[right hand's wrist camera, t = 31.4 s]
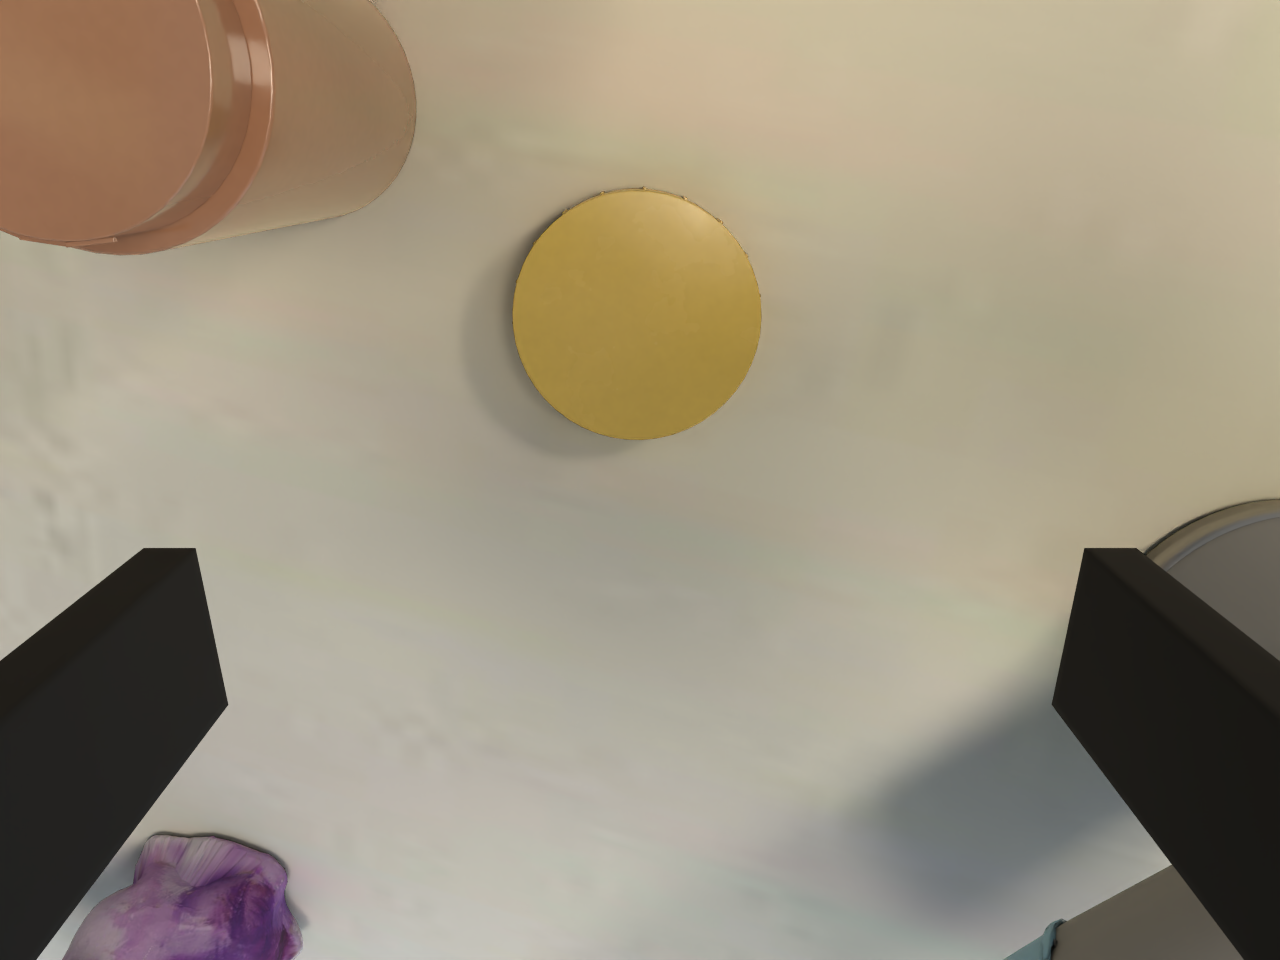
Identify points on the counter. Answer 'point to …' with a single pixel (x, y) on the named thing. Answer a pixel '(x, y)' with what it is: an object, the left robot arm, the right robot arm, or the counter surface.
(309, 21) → the jar
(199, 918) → the figurine
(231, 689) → the counter surface
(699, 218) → the lid
